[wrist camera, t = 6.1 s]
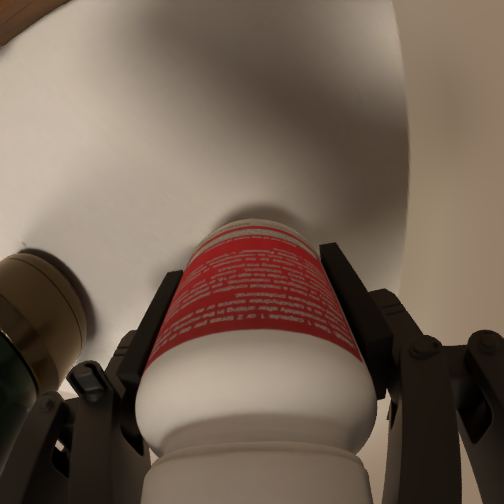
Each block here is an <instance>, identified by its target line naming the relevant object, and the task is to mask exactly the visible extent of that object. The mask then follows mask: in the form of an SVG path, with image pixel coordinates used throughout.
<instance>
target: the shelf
mask: <svg viewBox="0 0 504 504" xmlns="http://www.w3.org/2000/svg"><path fill="white" fill-rule="evenodd" d="M67 1H69V0H0V48H1V47H2V46H3V45H4V44H6V43H7V42H8V41H9V40H11V39H12V38H13V37H15V36H16V35H17V34H19V33H20V32H21V31H23V30H24V29H25V28H27V27H28V26H30V25H31V24H32V23H34V22H35V21H37V20H38V19H40V18H41V17H43V16H44V15H46V14H47V13H49V12H51V11H52V10H54V9H55V8H57V7H59V6H60V5H62V4H64V3H65V2H67Z"/></svg>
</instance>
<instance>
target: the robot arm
mask: <svg viewBox="0 0 504 504" xmlns="http://www.w3.org/2000/svg"><path fill="white" fill-rule="evenodd" d="M319 248H320V257H321V263H322V265H323V267H324V269H325V271H326V274H327V276H328V278H329V280H330V283H331V285H332V287H333V289H334V291H335V293H336V295H337V298H338V300H339V303H340V305H341V307H342V310H343V312H344V314H345V317H346V319H347V321H348V324H349V326H350V328H351V330H352V333H353V335H354V337H355V340H356V342H357V345H358V347H359V350H360V352H361V354H362V357H363V359H364V361H365V362H366V364H367V368H368V371H369V373H370V375H371V377H372V380H373V385H374V389H375V393H376V398H377V400H381V399H384V398H385V394H386V389H388V392H389V394H390V397H391V402H390V406H389V411H388V416H387V420H389V433H388V450H387V462H386V473H385V483H384V490H383V498H382V504H462V482H461V481H462V478H461V457H460V444H459V433H460V436H461V438H462V441H463V444H464V447H465V449H466V452H467V455H468V458H469V460H470V463H471V466H472V469H473V472H474V475H475V478H476V481H477V484H478V488H479V492H480V495H481V499H482V502H483V504H504V338H503V337H501V335H499V334H498V333H496V332H494V331H491V330H480V331H477V332H475V333H473V334H472V335H471V337H470V338H469V340H468V343H467V345H457V346H442V344H441V342H439V341H438V340H437V339H436V338H434V337H431V336H429V335H423V333H422V332H421V330H420V329H419V327H418V326H417V324H416V323H415V322H414V320H413V319H412V317H411V316H410V314H409V313H408V312H407V311H406V309H405V307H404V306H403V305H402V304H401V302H400V301H399V299H398V298H397V297H396V295H395V294H393V293H392V292H390V291H388V290H387V289H385V288H384V289H380V290H375V291H371V292H368V291H367V289H366V288H365V286H364V285H363V283H362V282H361V280H360V278H359V277H358V275H357V274H356V272H355V271H354V269H353V268H352V266H351V264H350V263H349V261H348V260H347V258H346V257H345V255H344V254H343V252H342V251H341V249H340V248H339V246H338V245H337V243H336V242H334V243H328V244H323V245H319ZM183 274H184V273H183V270H179V271H173V272H167V274H166V276H165V278H164V280H163V281H162V283H161V285H160V287H159V289H158V291H157V293H156V294H155V296H154V298H153V300H152V302H151V304H150V306H149V308H148V310H147V311H146V313H145V315H144V317H143V319H142V321H141V323H140V325H139V327H138V329H137V330H131V331H129V332H128V333H127V334H126V335H125V336H124V337H123V338H122V339H121V341H120V343H119V345H118V347H117V349H116V351H115V352H114V354H113V357H112V358H111V360H110V362H109V364H108V366H107V368H106V370H105V372H104V371H103V369H102V367H101V366H100V364H99V363H98V362H96V361H92V360H90V361H84V362H82V363H79V364H78V365H76V366H75V367H73V368H72V369H71V370H70V371H69V372H68V374H67V377H66V379H67V381H68V382H69V383H70V385H71V386H72V388H73V389H74V390H75V392H76V393H77V394H78V396H79V397H77V398H72V399H68V400H64V399H63V398H62V396H61V395H60V394H59V393H58V392H56V391H48V392H46V393H43V394H42V395H41V396H40V397H38V399H37V400H36V401H35V403H34V405H33V406H32V408H31V410H30V412H29V414H28V416H27V418H26V420H25V422H24V424H23V426H22V428H21V431H20V433H19V435H18V437H17V439H16V441H15V443H14V446H13V448H12V450H11V452H10V455H9V457H8V459H7V462H6V464H5V467H4V469H3V471H2V474H1V477H0V504H141V497H142V490H143V484H144V478H145V476H146V474H147V472H148V471H149V470H150V469H151V461H150V452H149V446H148V445H147V443H146V442H145V440H144V439H143V437H142V435H141V432H140V430H139V427H138V425H137V420H136V412H135V403H136V396H137V392H138V388H139V385H140V382H141V378H142V375H143V372H144V370H145V367H146V364H147V362H148V359H149V357H150V354H151V352H152V349H153V347H154V344H155V342H156V339H157V336H158V334H159V331H160V329H161V326H162V324H163V321H164V319H165V316H166V314H167V311H168V309H169V307H170V304H171V302H172V299H173V297H174V295H175V292H176V290H177V288H178V285H179V283H180V281H181V278H182V276H183ZM458 431H459V433H458ZM57 440H58V441H59V442H60V443H61V444H62V445H63V446H64V448H63V450H62V451H59V450H58V449H57V448H56V447H55V444H56V441H57Z"/></svg>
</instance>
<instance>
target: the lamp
mask: <svg viewBox="0 0 504 504" xmlns="http://www.w3.org/2000/svg"><path fill="white" fill-rule="evenodd" d="M86 337H87V321H86V316H85V312H84V309H83V306H82V303H81V301H80V299H79V297H78V295H77V293H76V291H75V290H74V288H73V286H72V285H71V284H70V282H69V281H68V280H67V279H66V277H65V276H64V275H63V274H62V273H61V272H60V271H59V270H58V269H57V268H56V267H54V266H53V265H52V264H51V263H49V262H48V261H46V260H44V259H42V258H40V257H38V256H35V255H32V254H27V253H18V254H13V255H10V256H8V257H6V258H5V259H3V260H2V261H0V477H1V474H2V471H3V469H4V467H5V464H6V462H7V459H8V457H9V455H10V452H11V450H12V448H13V446H14V443H15V441H16V439H17V437H18V435H19V433H20V431H21V428H22V426H23V424H24V422H25V420H26V418H27V416H28V414H29V412H30V410H31V408H32V406H33V405H34V403H35V401H36V400H37V399H38V397H40V396H41V395H42V394H43V393H46V392H48V391H56V392H57V391H58V389H59V387H60V386H61V384H62V382H63V381H64V379H65V377H66V376H67V374H68V372H69V371H70V369H71V367H72V366H73V364H74V362H75V361H76V359H77V358H78V356H79V355H80V353H81V351H82V350H83V348H84V345H85V342H86Z"/></svg>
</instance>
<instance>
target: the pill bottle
mask: <svg viewBox="0 0 504 504" xmlns="http://www.w3.org/2000/svg"><path fill="white" fill-rule="evenodd" d="M135 412H136V420H137V425H138V427H139V430H140V432H141V435H142V437H143V439H144V440H145V442H146V443H147V445H148V446H149V447H150V449H151V450H152V451H153V452H154V453H155V454H156V455H157V456H158V457H159V459H157V460H156V461H155V462H154V463H153V464H152V466H151V469H150V470H149V471H148V472H147V474H146V476H145V478H144V484H143V490H142V497H141V504H373V499H372V494H371V488H370V482H369V475H368V472H367V470H366V469H365V468H364V466H363V463H362V461H361V459H360V458H359V457H357V456H356V454H357V453H358V452H359V451H360V450H361V448H362V447H363V446H364V445H365V443H366V441H367V440H368V438H369V437H370V434H371V432H372V430H373V427H374V424H375V420H376V416H377V398H376V393H375V389H374V385H373V380H372V377H371V375H370V373H369V371H368V368H367V364H366V362H365V361H364V359H363V357H362V354H361V352H360V350H359V347H358V345H357V342H356V340H355V337H354V335H353V333H352V330H351V328H350V326H349V324H348V321H347V319H346V317H345V314H344V312H343V310H342V307H341V305H340V303H339V300H338V298H337V295H336V293H335V291H334V289H333V287H332V285H331V283H330V280H329V278H328V276H327V274H326V271H325V269H324V267H323V265H322V263H321V261H320V259H319V257H318V255H317V253H316V251H315V250H314V248H313V247H312V246H311V244H310V243H309V242H308V241H307V240H306V239H305V238H304V237H303V236H302V235H301V234H299V233H298V232H297V231H295V230H294V229H292V228H290V227H288V226H286V225H284V224H282V223H279V222H275V221H271V220H266V219H244V220H239V221H235V222H231V223H228V224H226V225H224V226H222V227H220V228H218V229H216V230H215V231H213V232H212V233H210V234H209V235H208V236H207V237H206V238H205V239H204V240H203V241H202V242H201V243H200V244H199V245H198V247H197V248H196V250H195V251H194V253H193V255H192V257H191V258H190V260H189V262H188V265H187V267H186V269H185V272H184V274H183V276H182V278H181V281H180V283H179V285H178V288H177V290H176V292H175V295H174V297H173V299H172V302H171V304H170V307H169V309H168V311H167V314H166V316H165V319H164V321H163V324H162V326H161V329H160V331H159V334H158V336H157V339H156V342H155V344H154V347H153V349H152V352H151V354H150V357H149V359H148V362H147V364H146V367H145V370H144V372H143V375H142V378H141V382H140V385H139V388H138V392H137V396H136V403H135Z"/></svg>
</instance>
